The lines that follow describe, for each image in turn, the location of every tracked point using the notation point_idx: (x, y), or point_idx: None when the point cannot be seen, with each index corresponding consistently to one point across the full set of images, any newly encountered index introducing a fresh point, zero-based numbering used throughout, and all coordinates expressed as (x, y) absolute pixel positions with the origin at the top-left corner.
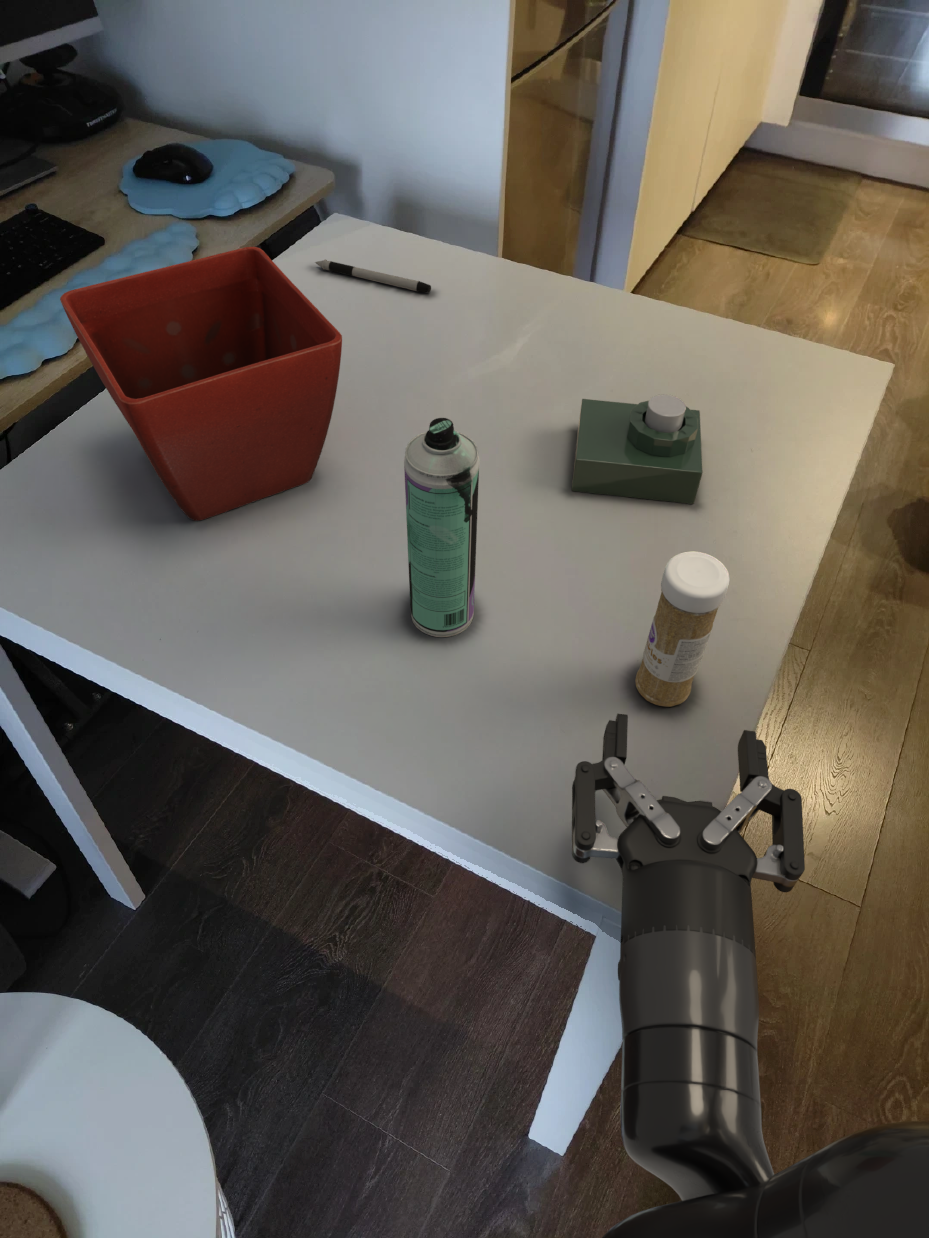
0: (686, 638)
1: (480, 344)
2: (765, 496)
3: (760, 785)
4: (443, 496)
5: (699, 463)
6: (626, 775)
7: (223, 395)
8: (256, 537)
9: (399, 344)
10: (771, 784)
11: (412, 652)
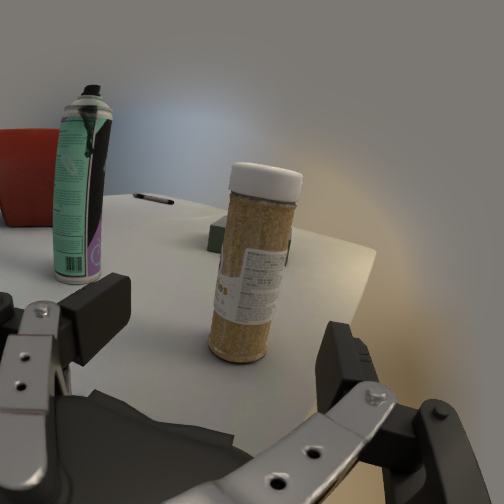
0: (253, 247)
1: (186, 214)
2: (330, 270)
3: (373, 396)
4: (72, 123)
5: (289, 237)
6: (46, 329)
7: (28, 139)
8: (22, 234)
9: (148, 209)
10: (394, 394)
11: (39, 284)
